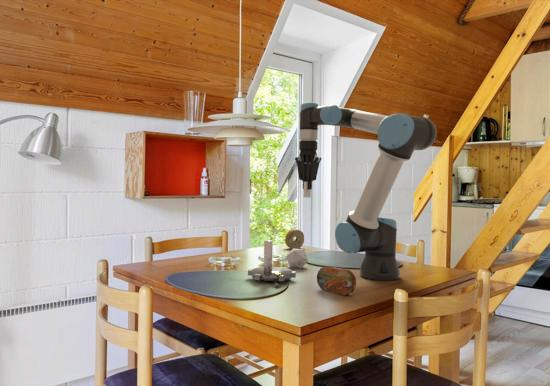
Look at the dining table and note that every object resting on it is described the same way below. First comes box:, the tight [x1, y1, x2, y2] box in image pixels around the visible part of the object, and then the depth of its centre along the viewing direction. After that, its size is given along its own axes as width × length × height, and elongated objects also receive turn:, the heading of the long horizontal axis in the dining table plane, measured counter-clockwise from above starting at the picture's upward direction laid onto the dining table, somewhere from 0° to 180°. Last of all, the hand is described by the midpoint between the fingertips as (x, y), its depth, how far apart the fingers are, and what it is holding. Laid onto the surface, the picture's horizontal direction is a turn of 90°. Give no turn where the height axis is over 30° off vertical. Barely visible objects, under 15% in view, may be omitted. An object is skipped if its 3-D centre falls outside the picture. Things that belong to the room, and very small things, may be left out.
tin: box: [316, 266, 357, 296], centre depth 162 cm, size 15×3×8 cm, turn 44°
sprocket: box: [247, 239, 297, 282], centre depth 179 cm, size 18×16×14 cm
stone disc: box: [284, 229, 305, 250], centre depth 252 cm, size 10×4×10 cm, turn 114°
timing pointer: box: [273, 281, 280, 288], centre depth 169 cm, size 4×1×1 cm, turn 9°
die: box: [285, 248, 309, 270], centre depth 203 cm, size 8×9×10 cm
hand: (307, 197), depth 202 cm, fingers closed
